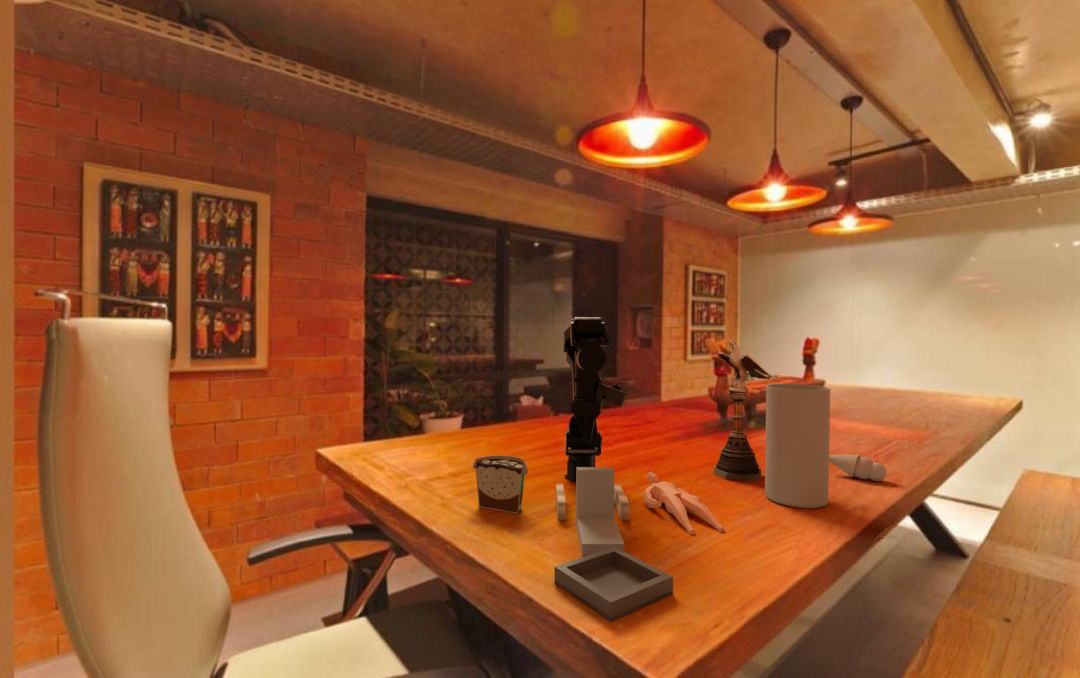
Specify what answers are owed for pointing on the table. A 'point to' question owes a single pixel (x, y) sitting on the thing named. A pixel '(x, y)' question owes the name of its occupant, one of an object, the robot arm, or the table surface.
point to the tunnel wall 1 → (560, 502)
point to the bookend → (596, 510)
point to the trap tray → (613, 582)
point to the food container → (500, 482)
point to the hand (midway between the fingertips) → (587, 443)
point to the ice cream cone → (859, 466)
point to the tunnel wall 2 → (621, 502)
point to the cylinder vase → (797, 445)
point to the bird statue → (740, 421)
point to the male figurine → (677, 503)
